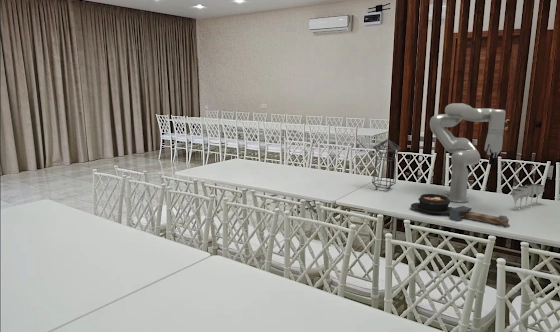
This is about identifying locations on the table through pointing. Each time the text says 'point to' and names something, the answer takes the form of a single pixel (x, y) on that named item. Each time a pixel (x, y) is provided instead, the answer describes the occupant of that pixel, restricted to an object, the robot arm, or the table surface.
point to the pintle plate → (502, 225)
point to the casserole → (433, 204)
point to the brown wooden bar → (486, 218)
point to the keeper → (458, 212)
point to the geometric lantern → (385, 160)
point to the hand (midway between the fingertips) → (492, 164)
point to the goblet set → (526, 194)
